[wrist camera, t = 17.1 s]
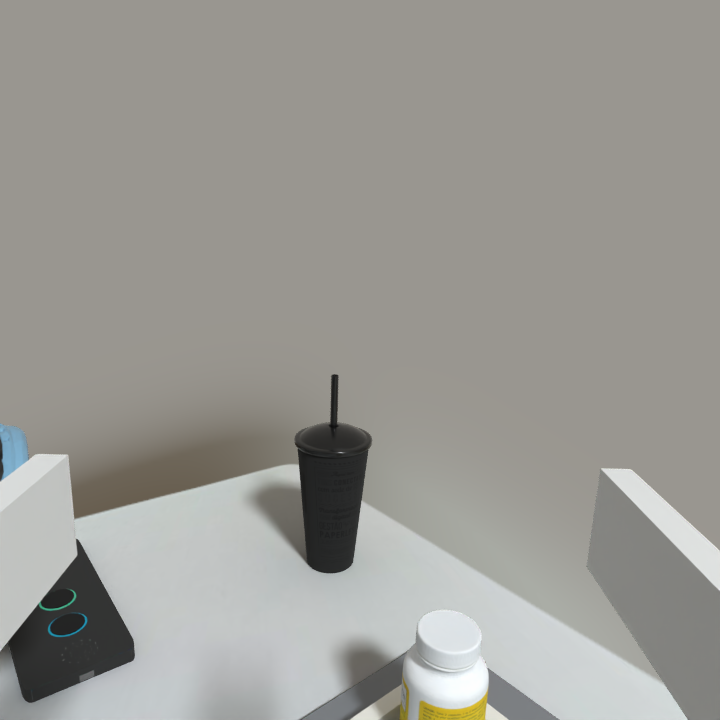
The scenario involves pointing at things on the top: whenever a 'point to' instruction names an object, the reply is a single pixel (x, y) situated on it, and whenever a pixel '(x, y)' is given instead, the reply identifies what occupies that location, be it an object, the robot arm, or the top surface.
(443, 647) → the supplement bottle
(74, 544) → the robot arm
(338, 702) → the socket board
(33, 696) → the smart home device
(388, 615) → the top surface
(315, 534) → the drinking cup
